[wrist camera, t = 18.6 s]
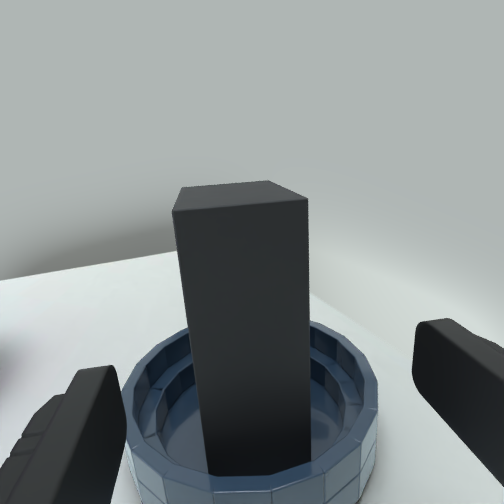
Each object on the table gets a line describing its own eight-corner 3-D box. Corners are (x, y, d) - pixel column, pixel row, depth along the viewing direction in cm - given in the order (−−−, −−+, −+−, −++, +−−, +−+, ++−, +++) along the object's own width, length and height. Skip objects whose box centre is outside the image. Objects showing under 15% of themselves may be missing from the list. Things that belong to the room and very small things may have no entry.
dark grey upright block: (278, 374, 21) (269, 180, 17) (312, 468, 15) (308, 197, 11) (206, 385, 20) (180, 187, 17) (210, 488, 14) (171, 210, 11)
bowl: (341, 353, 23) (342, 308, 22) (421, 560, 12) (431, 487, 11) (169, 360, 24) (162, 317, 23) (83, 565, 12) (60, 496, 11)
